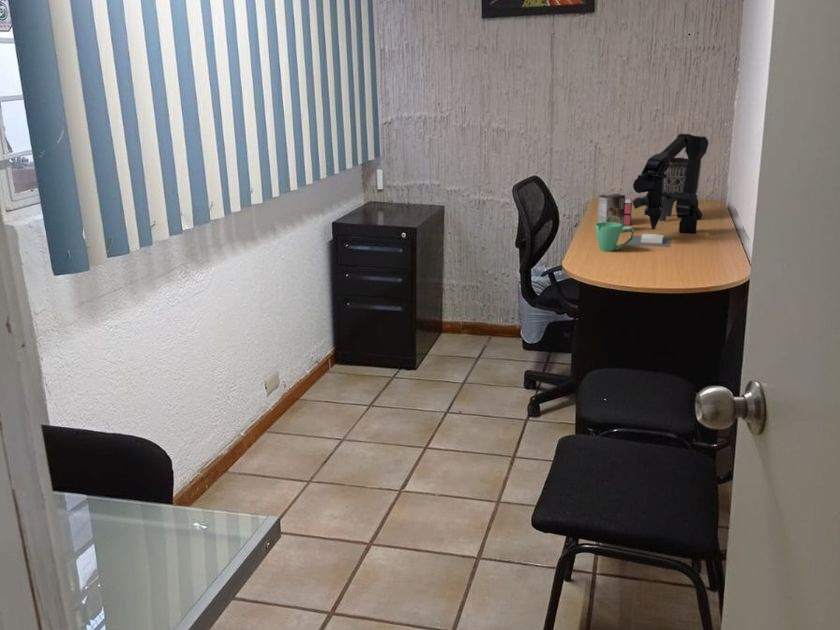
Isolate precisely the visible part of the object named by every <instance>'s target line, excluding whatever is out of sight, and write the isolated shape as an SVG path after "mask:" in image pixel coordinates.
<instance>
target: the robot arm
mask: <svg viewBox="0 0 840 630" xmlns="http://www.w3.org/2000/svg"><path fill="white" fill-rule="evenodd" d="M708 147H709V140H708V138H707V137H706V136H701V135H693V134H690V133H679V134H678V135H677V137H676V138H675V139H674V140H673V141H672V142H671V143H670V144H669V145H668V146H667V147H665V149H663V150H662V152H661V151H660V152H659V153H656V154H654V155H651V157H649V158H648V159H647V160H646V164H645V166H644V167H643V170H642V171H641V174H638V175H637V178H636V179H635V180H633V184H632V187H633V190H634V191H635V193H637V194H642V193H646V195H644V196H641V197H640V196H639V197H635V198H634V199H632V200H631V202H632V206H633V208H634V209H639V208H642V207H643V206H645V208H644V215H645V216H648V217H649V221H650V227H651V230H655V229H656V227H657V225H658V223H659V222H660V221H659V219H660V216H661V214H662V209H661V208H660V207H662V208H664V202H663V201H662V200H663V184H664V178H667V175H666V174H665V173H664V172H665V171H666V170H667V169H668V168H669V166H670V162H671V160H672V159H673V158H676V156H678V154H680V153H681V152H682V151H683V150H685V154H686V156H687V158H688V163H687V170H686V177H685V183H684V190H683V194H682V195H681V197H680V198H679V197H678V198H677V201H676V203H675V212H676V217H677V219H680V220H679V224H678V226H679V227H678V232H679V234H687V235H689V234H690V235H697V232H698V231H697V228H698V221H701V220H702V218H703V213H702V210H701V209H700V208H699V200H698V196H697V197H696V195H697V194H696V189H697V182H698V176H699V169H700V163H701V164H702V162H701V161H702V159H703V157H704V156H705V154H707V151H708Z"/></svg>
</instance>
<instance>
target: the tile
mask: <svg viewBox="0 0 840 630" xmlns="http://www.w3.org/2000/svg"><path fill="white" fill-rule="evenodd" d="M641 236H642V237H641V243H654V244H662V242H663V237H664V234H657V233H656V234H655V233H654V234H652V233H642V235H641Z"/></svg>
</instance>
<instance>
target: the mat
mask: <svg viewBox="0 0 840 630" xmlns="http://www.w3.org/2000/svg"><path fill="white" fill-rule="evenodd" d="M641 237H642V235H633V239H632V240H631V241H630V242H629V243H628V244H626V246H638V247H639V246H641V247H659V248H660V247H661V248H670V245H671V241H672V238H673V237H671V236H663V242H662V244H654V243H641Z"/></svg>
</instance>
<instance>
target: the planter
mask: <svg viewBox="0 0 840 630" xmlns="http://www.w3.org/2000/svg"><path fill="white" fill-rule="evenodd" d="M687 163H688V157H674V158H673V159H672V160H671V162H670V166H669V168H668V169H667V170H666V171H665V172H664V173H665V174H666V175H667V178H664V184H663V200H662V201H663V202H664V208H662V207H660V208H661V209H662V214H661V216H660V219H659V221H658V222H660V221H665V222H666V220H667V217H672V213H673V207H674V204H675V202H677V198H678V197H679V198H680V197H681V195H682V194H683V190H684V183H685V177H686V170H687ZM701 168H702V160H701V163H700V169H699V176H698V182H697V189H696V197H697V198H698V192H699V185H700V177H701Z"/></svg>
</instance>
